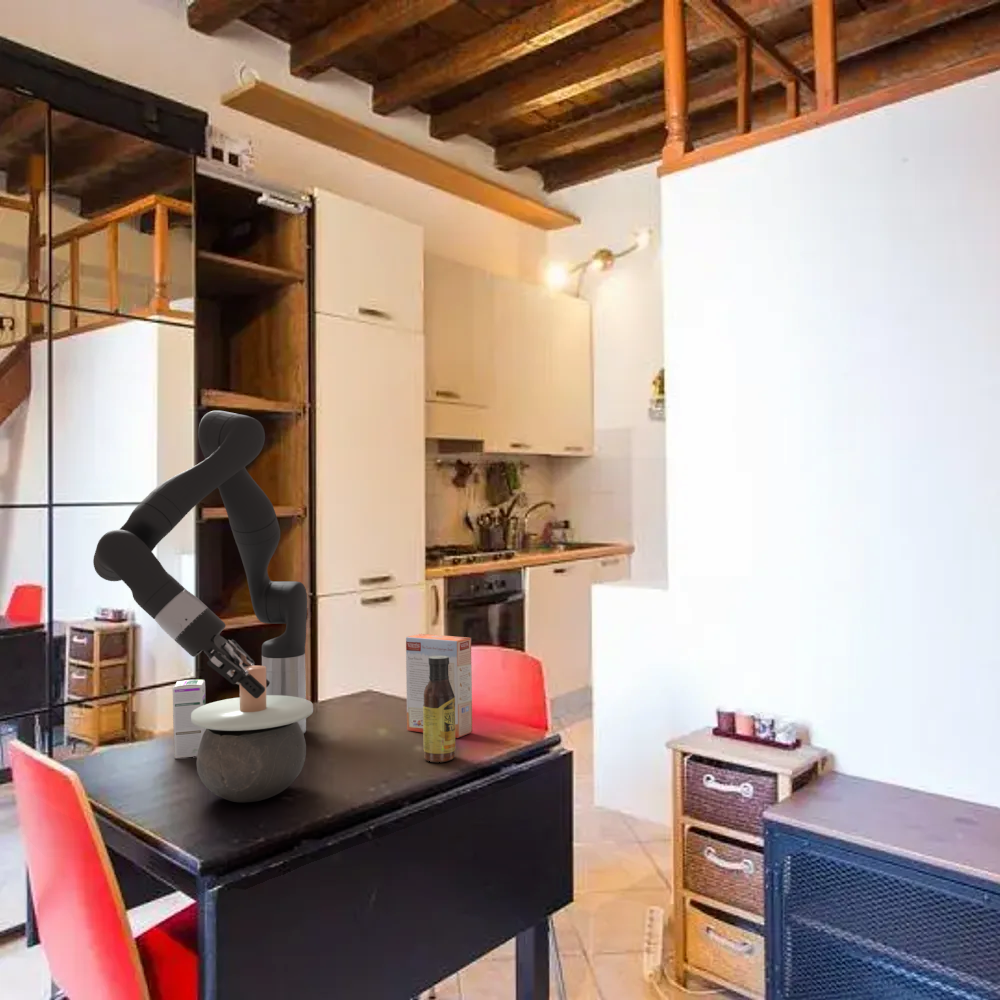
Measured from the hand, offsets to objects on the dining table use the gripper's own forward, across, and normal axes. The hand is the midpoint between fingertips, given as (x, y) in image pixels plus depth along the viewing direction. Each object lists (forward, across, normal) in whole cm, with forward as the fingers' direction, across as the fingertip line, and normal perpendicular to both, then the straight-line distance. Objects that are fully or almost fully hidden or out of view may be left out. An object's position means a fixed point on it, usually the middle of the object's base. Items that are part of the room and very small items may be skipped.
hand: (263, 690), depth 144 cm
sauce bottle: (+35, +16, -9) cm, 39 cm away
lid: (+2, 0, +4) cm, 4 cm away
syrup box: (0, +28, +26) cm, 38 cm away
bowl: (+11, 0, +14) cm, 18 cm away
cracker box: (+36, +36, -10) cm, 51 cm away
